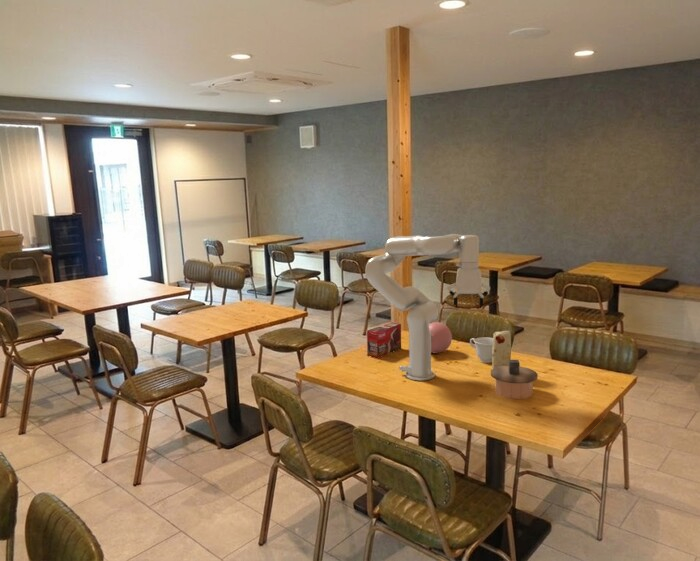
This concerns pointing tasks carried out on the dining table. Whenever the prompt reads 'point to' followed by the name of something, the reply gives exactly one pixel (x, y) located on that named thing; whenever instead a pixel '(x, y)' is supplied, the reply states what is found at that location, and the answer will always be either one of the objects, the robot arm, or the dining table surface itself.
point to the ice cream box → (383, 339)
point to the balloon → (439, 337)
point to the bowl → (513, 389)
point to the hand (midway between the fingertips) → (468, 306)
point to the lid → (514, 373)
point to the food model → (501, 349)
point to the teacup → (483, 348)
